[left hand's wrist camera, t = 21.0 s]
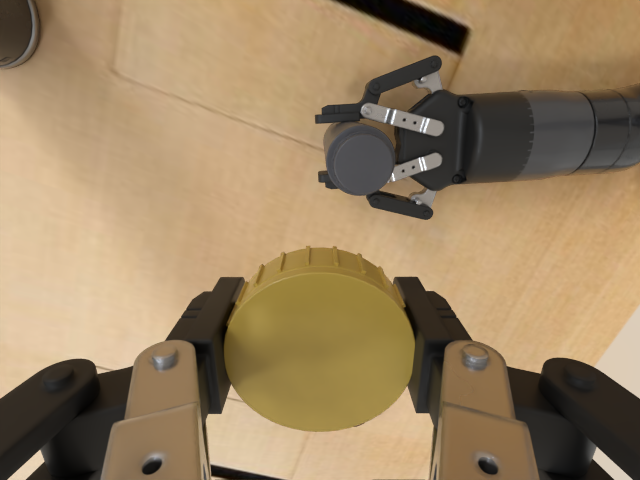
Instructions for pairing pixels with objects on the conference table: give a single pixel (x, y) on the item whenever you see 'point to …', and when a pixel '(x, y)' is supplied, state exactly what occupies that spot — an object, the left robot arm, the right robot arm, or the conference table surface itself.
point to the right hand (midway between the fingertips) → (317, 149)
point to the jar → (358, 157)
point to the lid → (319, 341)
